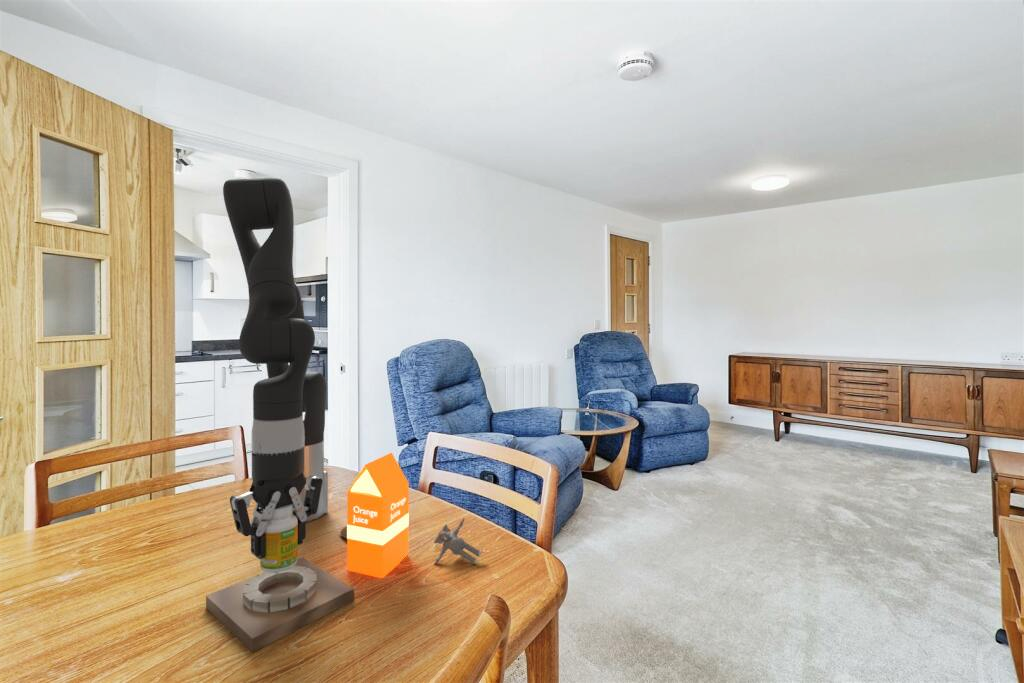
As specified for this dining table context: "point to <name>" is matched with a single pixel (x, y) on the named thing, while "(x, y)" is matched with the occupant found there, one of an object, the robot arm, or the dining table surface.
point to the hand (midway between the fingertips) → (279, 549)
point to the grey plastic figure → (455, 544)
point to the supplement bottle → (281, 541)
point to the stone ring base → (278, 603)
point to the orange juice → (377, 518)
